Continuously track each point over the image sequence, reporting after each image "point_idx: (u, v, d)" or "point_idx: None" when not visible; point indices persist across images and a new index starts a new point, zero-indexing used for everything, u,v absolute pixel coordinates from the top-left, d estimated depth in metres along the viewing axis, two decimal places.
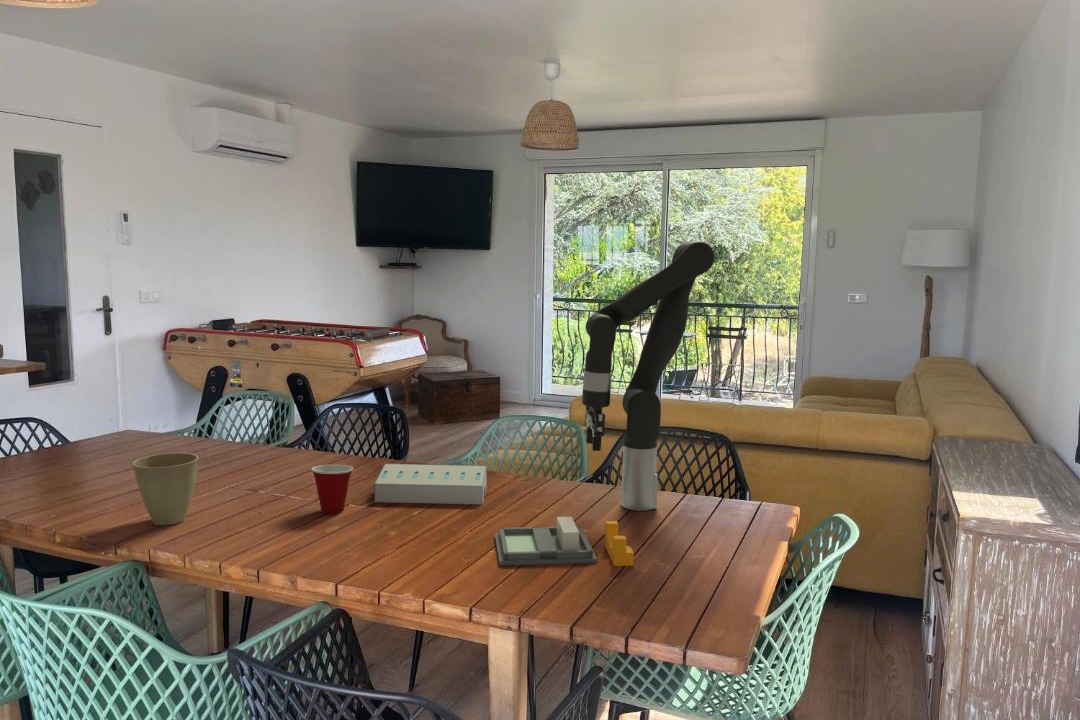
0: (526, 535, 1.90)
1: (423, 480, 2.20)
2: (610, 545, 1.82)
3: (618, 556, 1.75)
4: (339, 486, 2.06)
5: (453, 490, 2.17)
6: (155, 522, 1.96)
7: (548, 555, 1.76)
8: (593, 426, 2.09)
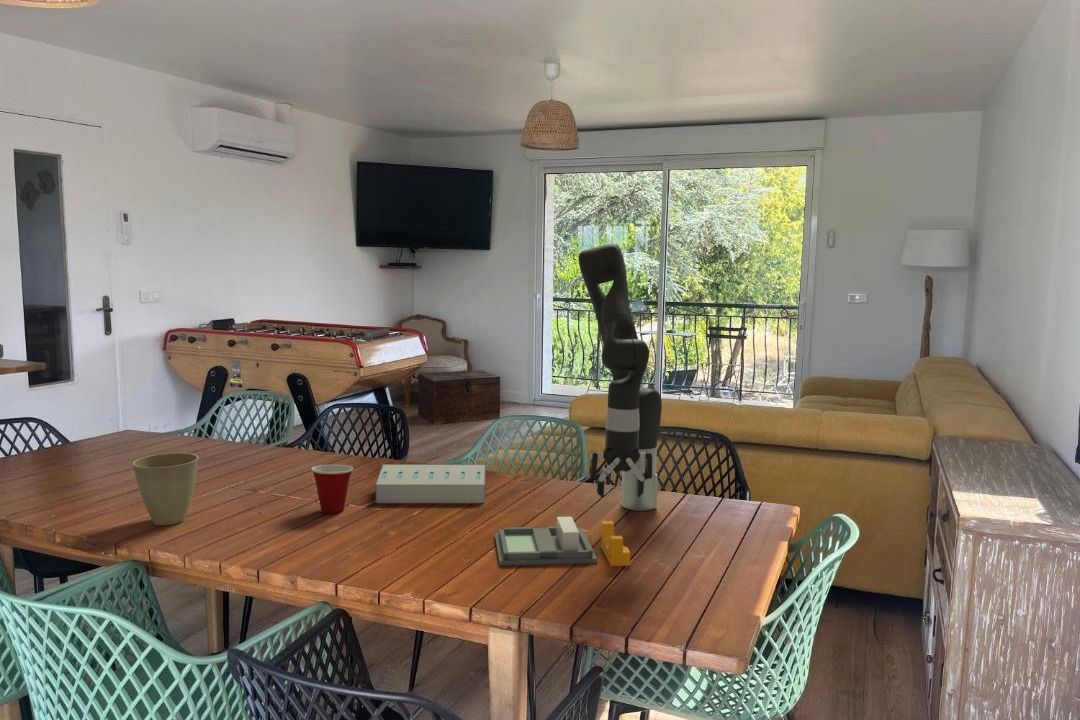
0: (526, 535, 1.90)
1: (424, 480, 2.20)
2: (606, 545, 1.82)
3: (615, 556, 1.75)
4: (339, 486, 2.06)
5: (455, 489, 2.18)
6: (155, 522, 1.96)
7: (548, 555, 1.76)
8: (638, 470, 1.78)
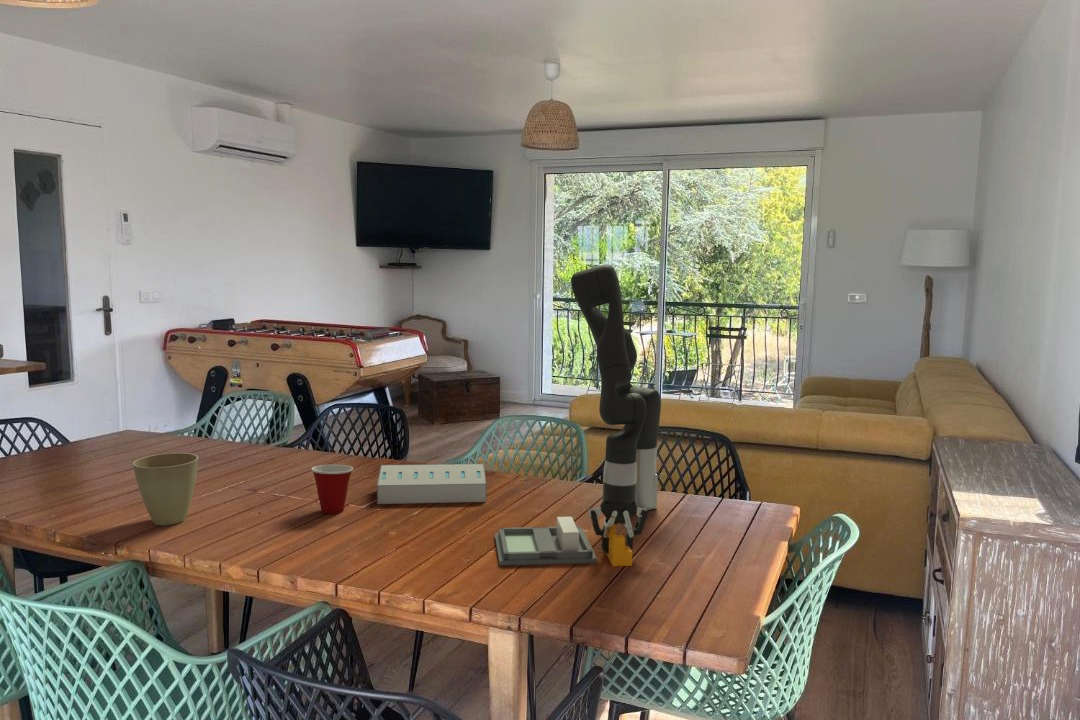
0: (526, 535, 1.90)
1: (425, 480, 2.20)
2: None
3: (617, 555, 1.75)
4: (339, 486, 2.06)
5: (457, 488, 2.19)
6: (155, 522, 1.96)
7: (548, 555, 1.76)
8: None
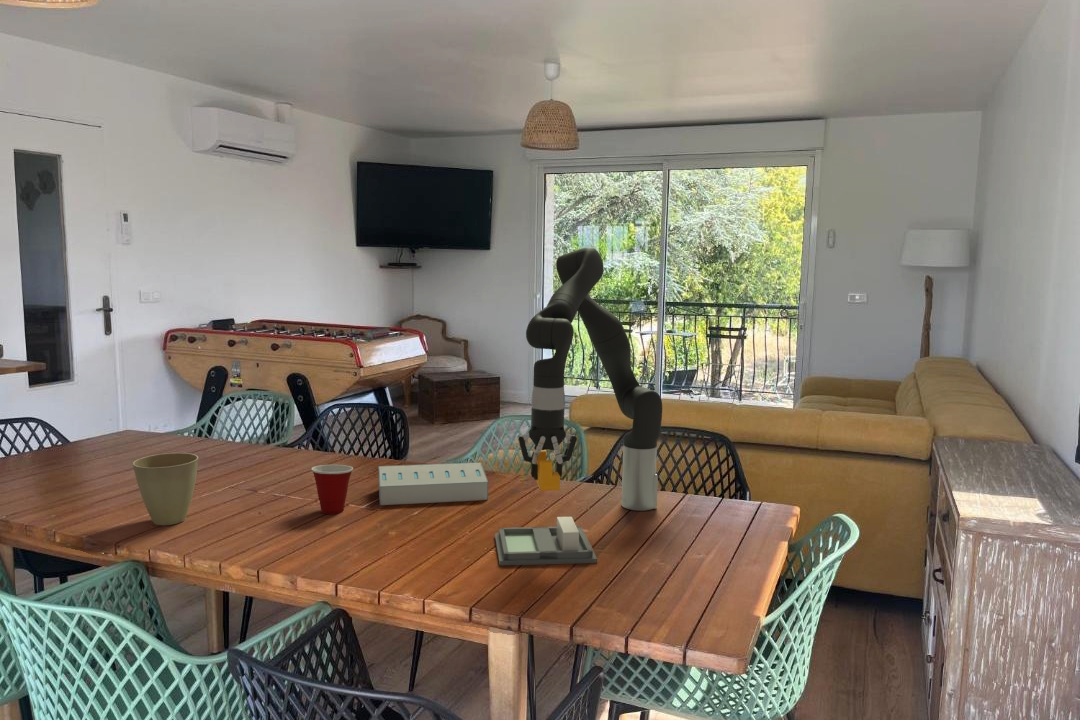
0: (526, 535, 1.90)
1: (427, 480, 2.20)
2: (538, 472, 1.81)
3: (544, 480, 1.74)
4: (339, 486, 2.06)
5: (459, 487, 2.20)
6: (155, 522, 1.96)
7: (548, 555, 1.76)
8: None
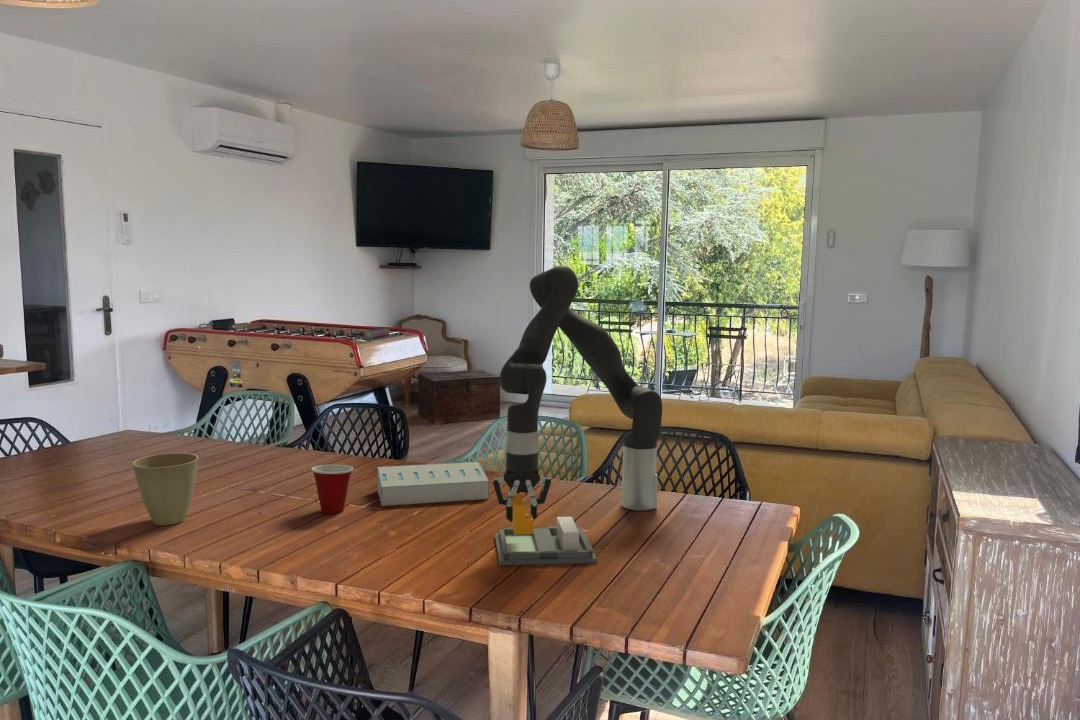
0: (526, 535, 1.90)
1: (428, 480, 2.20)
2: None
3: (518, 523, 1.77)
4: (339, 486, 2.06)
5: (460, 487, 2.20)
6: (155, 522, 1.96)
7: (548, 555, 1.76)
8: (534, 494, 1.81)
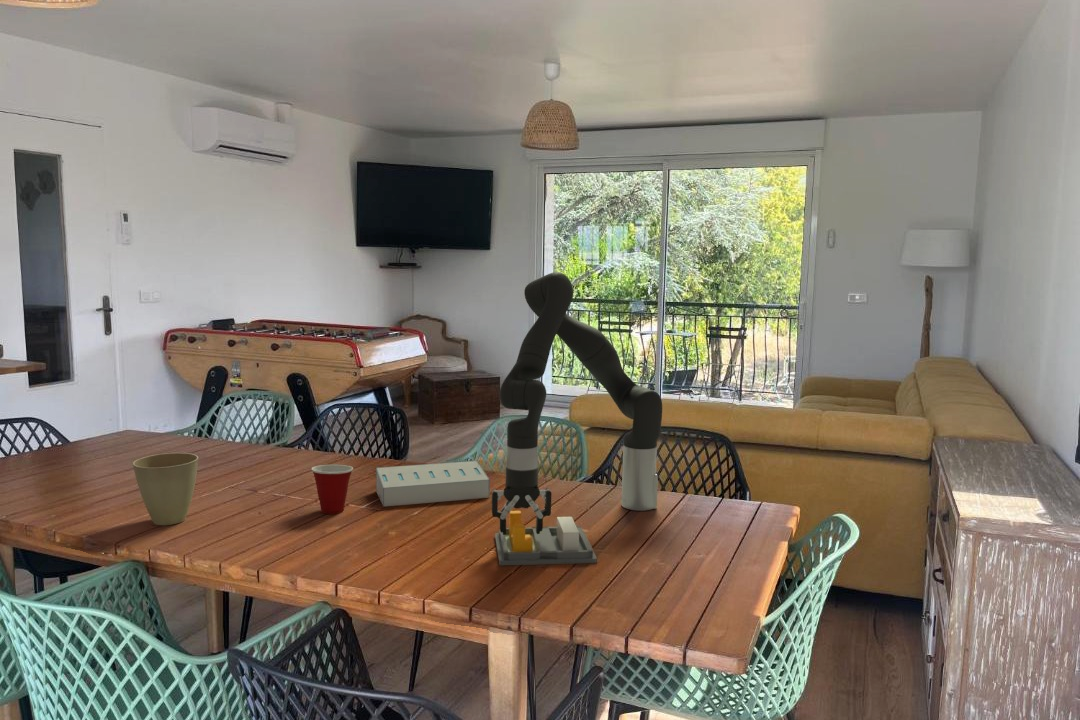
0: None
1: (429, 479, 2.21)
2: (512, 534, 1.84)
3: (517, 545, 1.77)
4: (339, 486, 2.06)
5: (461, 486, 2.21)
6: (155, 522, 1.96)
7: (548, 555, 1.76)
8: (537, 507, 1.82)
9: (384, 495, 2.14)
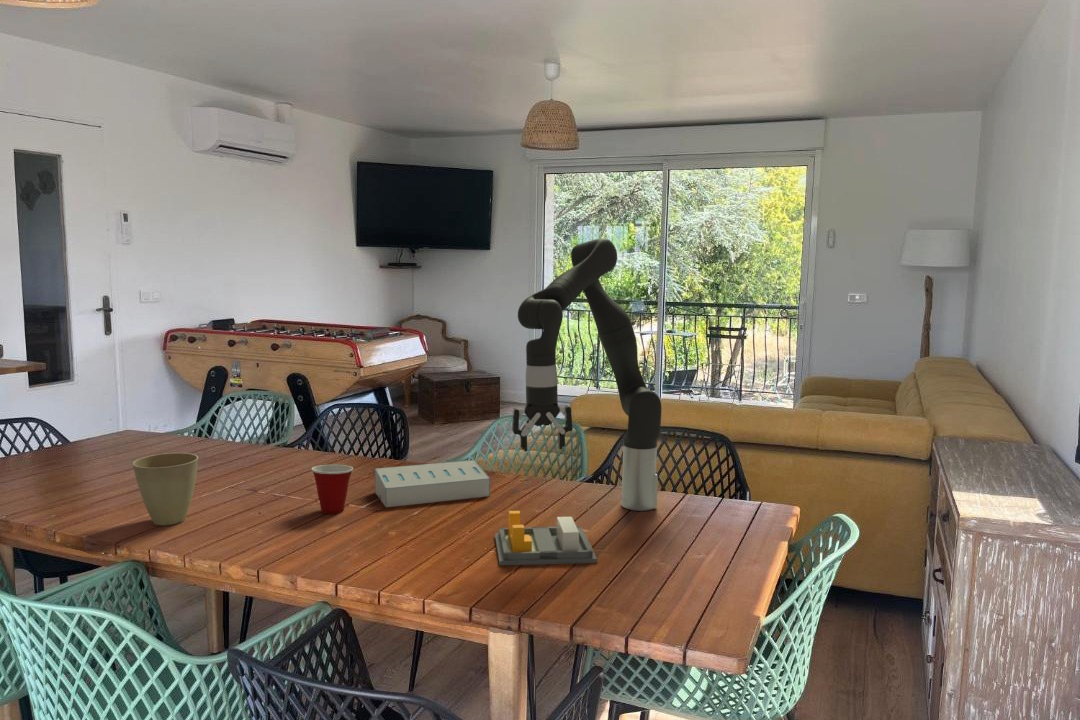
0: None
1: (430, 479, 2.21)
2: (511, 534, 1.84)
3: (516, 545, 1.77)
4: (339, 486, 2.06)
5: (462, 485, 2.22)
6: (155, 522, 1.96)
7: (548, 555, 1.76)
8: None
9: (386, 495, 2.13)
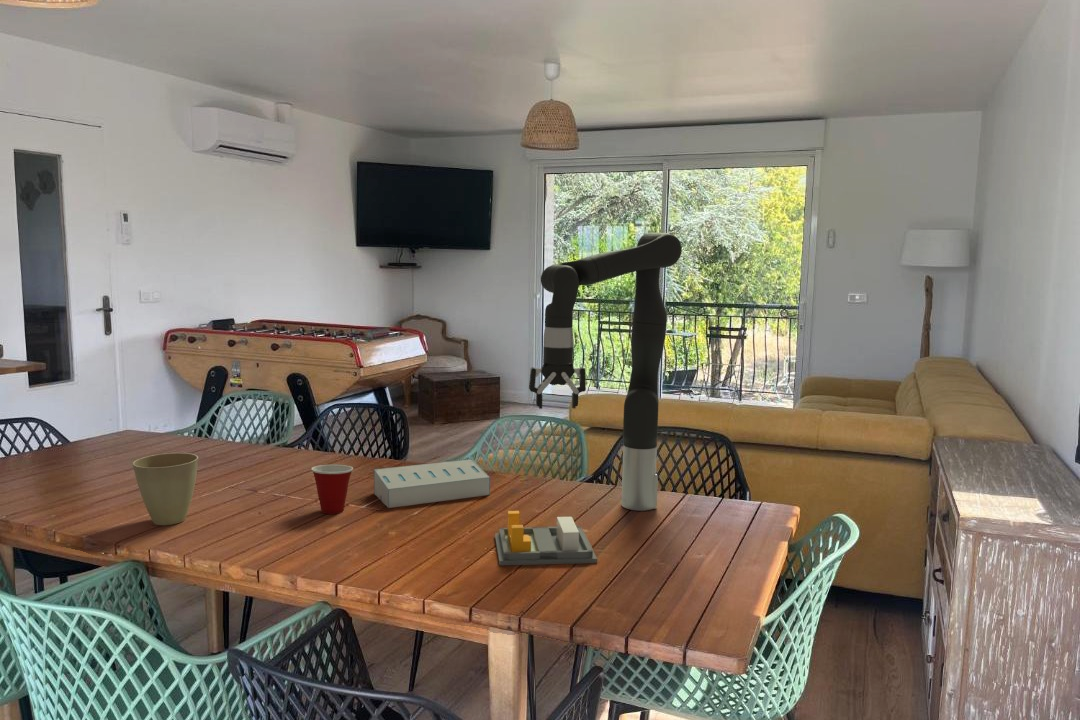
0: None
1: (430, 479, 2.21)
2: (510, 534, 1.84)
3: (516, 545, 1.77)
4: (339, 486, 2.06)
5: (463, 484, 2.22)
6: (155, 522, 1.96)
7: (548, 555, 1.76)
8: None
9: (389, 496, 2.13)
